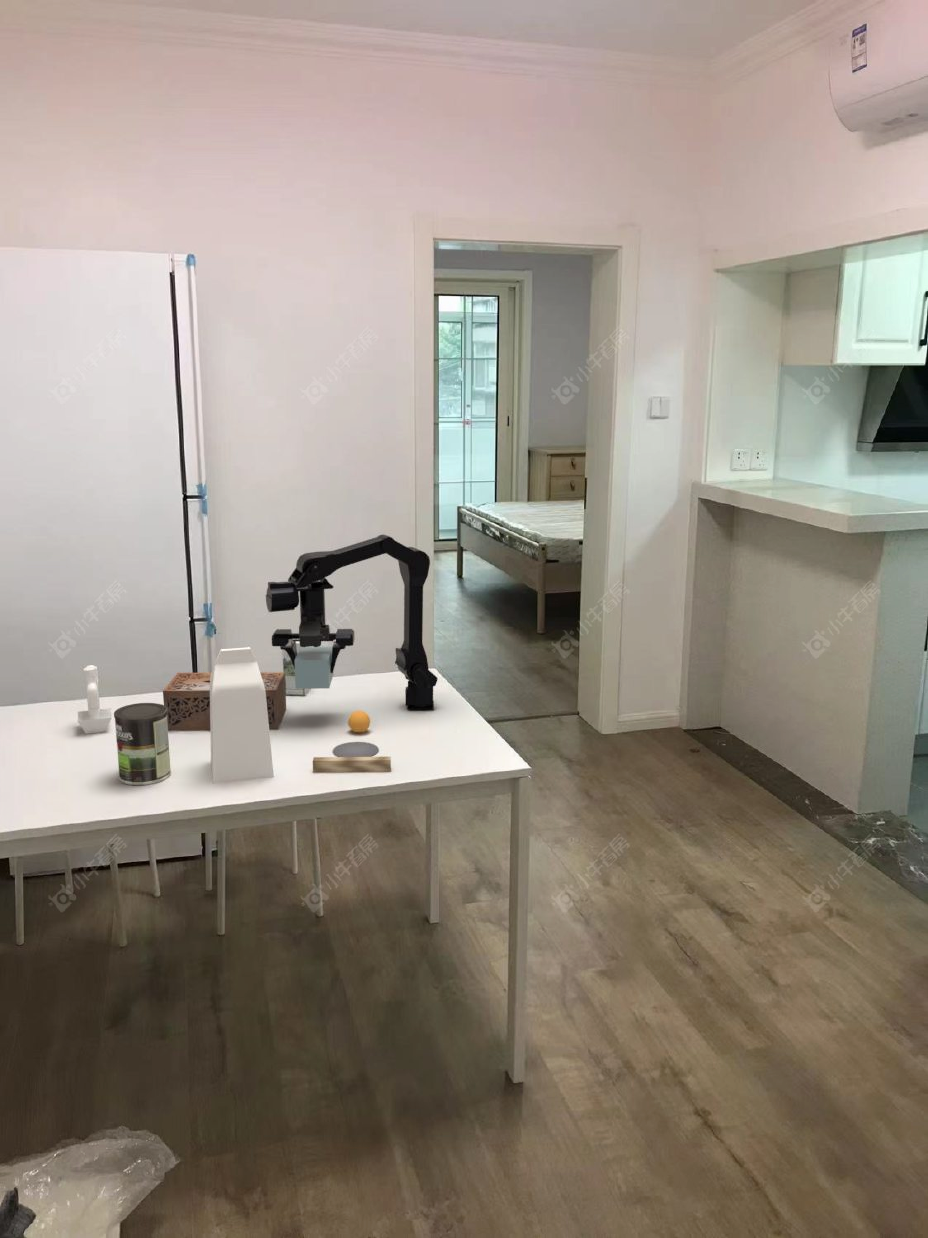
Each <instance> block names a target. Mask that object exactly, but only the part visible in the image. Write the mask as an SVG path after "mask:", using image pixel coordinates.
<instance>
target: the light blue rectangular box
mask: <svg viewBox="0 0 928 1238" xmlns="http://www.w3.org/2000/svg"><path fill="white" fill-rule="evenodd" d="M332 647H333V646H326V647H325V646H324V647H323V646H319V647H313V646H309V647H300V650H299V652H298V654H297V656H296V658H295V660H294V661H295V687H296V689H310V690H311V689H312V690H313V689H330V686H331V684H332V681H333V677H334V672H335V671H334V670H333V673H331V659H332Z"/></svg>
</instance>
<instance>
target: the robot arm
mask: <svg viewBox="0 0 928 1238" xmlns="http://www.w3.org/2000/svg"><path fill="white" fill-rule="evenodd" d="M385 554H386V555H387V556H390V557H391V558H393V559H395V560H397V561H398V562H397V563H398V568H399V574H400V576H401V579H402V581H403V585H404V586H403V587H404V588H403V593H404V596H403V597H404V598H403V604H404V605H403V607H404V608H403V642H402V644H401V647H396V648H395V657H396V658H395V661H394V665H397V669H398V671H399V672H400V673H401V674H402V675H404V678H405V679H406V680H407V686H405V699H404V700H405V706H407V708H406V709H407V710H408V711H433V710H435V703H434V701H435V700H434V687H435V686H436V685H437V683H438V679H439V678H438V676H436V675H435V674H434V673H433V672H432V671H430V669H429V663H428V662H429V661H428V656H427V653H426V650H425V647H424V644H423V643H424V642H423V631H424V630H423V622H424V621H423V619H424V613H423V612H424V586H425V583H426V580H427V579H428V576H429V571H430V566H431V560H430V556H429V555H428V554H427V553H426V552H425V551H422V550H420V549H419V548H416V547H413V546H408V547H407V546H406V545H404V544H402V543H400V542H398V541H397V540H395V539H394V538H393V537H392V536H389V535H387V534H384V533H383V534H379V535H377V536H376V537H373V538H370V539H367V540H363V541H359V542H356V543H354V544H351V545H347V546H344V547H341V548H338V549H334V550H328V551H327V550H326V551H325V550H323V551H322V550H321V551H312V552H305V553H303V554H301V555H300V556H298V558H297V561H296V565H295V566H296V567H295V568H294V570H293V571H292V573H291V574H290V575H289V577H288V578H287V581H279V582H278V581H269V582H267V588H266V594H265V603H266V608H267V611H268V613H275V612H287V611H294V610H295V608H298V606H299V612H300V613H299V614H300V615H299V616H300V624H299V626H298V632H297V633H293V631H292V629H291V628H290V629H289V628H288V629H287V628H286V629H285V628H284V629H283V628H281V629H279V628H278V629H275V631H274V632H273V633H272V635H271V646H272V647H279V648H280V650H281V651H282V650H285V651H286V652H287V653H288V655H289V657H290V659H291V661H292V664H293V666H294V669H295V661H294V660H295V658H296V656H297V648H296V641H299V642H300V646H301V647H307V646H309V647H322V646H321V645H322V642H333V644H332V646H331V647H332V659H331V673H333V671H334V670H335V666H336V662H337V660H338V659H337V658H338V657H339V653H341V651H342V650H345V649H346V647H351V646H354V643H355V630H354V629H353V628H337V630H336V632H331V631H330V630H331V629H330V625H329V624H326V600H325V599H326V598H325V590H332V589H334V585H333V584H331V583H330V582H329V581H328V578H327V577H329V576H331V575H332V574H334V572H335V573H336V571H337V570H339V569H341V568H344V567H347V566H350V565H353V564H356V563H360V562H363V561H366V560H369V559H373V558H376V557H378V556H381V555H385Z"/></svg>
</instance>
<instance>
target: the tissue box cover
mask: <svg viewBox="0 0 928 1238" xmlns="http://www.w3.org/2000/svg"><path fill="white" fill-rule="evenodd" d="M211 673H212V672H177V673H176V675H174V676H173V678H172V679H171V680H170V681H169V683H168V684H167V685H166V687H164V689H163V690H162V696H163V697H162V699H163V700H162V701H163V705H164V706H166V707H167V723H168V732H181V731H182V732H191V731H192V732H195V731H197V732H199V731H200V732H201V731H202V732H205V731H208V732H209V731H210V676H211ZM260 673H261V677H262V680H263V683H264V687H265V692H266V701H267V712H268V722H269V731H278V730H279V728H280V726H281V723H282V721H283V719H284V716H285V714H286V712H287V697H286V696H287V695H286V690H285V672H283V671H268V672H267V671H260Z"/></svg>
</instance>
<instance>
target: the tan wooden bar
mask: <svg viewBox="0 0 928 1238" xmlns="http://www.w3.org/2000/svg"><path fill="white" fill-rule="evenodd" d="M391 762H392V759H391V756H371V757H337V756H323V757H321V756H317V757H316V756H315V757H314V756H313V759H312V773H356V772H358V773H360V772H361V773H364V772H369V773H370V772H371V773H372V772H375V773H376V772H377V773H378V772H379V773H380V772H391V770H392V769H391V768H392V763H391Z"/></svg>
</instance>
